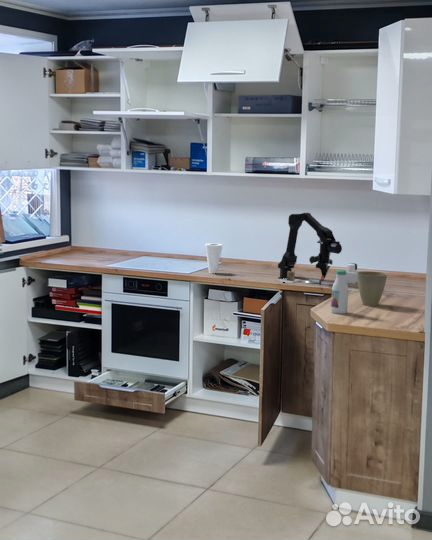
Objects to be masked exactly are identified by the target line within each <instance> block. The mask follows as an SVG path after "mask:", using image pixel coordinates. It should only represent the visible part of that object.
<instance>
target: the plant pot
mask: <svg viewBox="0 0 432 540" xmlns="http://www.w3.org/2000/svg"><path fill="white" fill-rule="evenodd" d="M387 277H388V274H387V273H386V272H381V271H358V272H357V280H358V282H357V287H358V291H359V295H360V299H361V302H362V305H363V306H367V307H376V306H379V304H380V300H381V299H382V296H383V293H384V290H385V286H386V283H387Z"/></svg>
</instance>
